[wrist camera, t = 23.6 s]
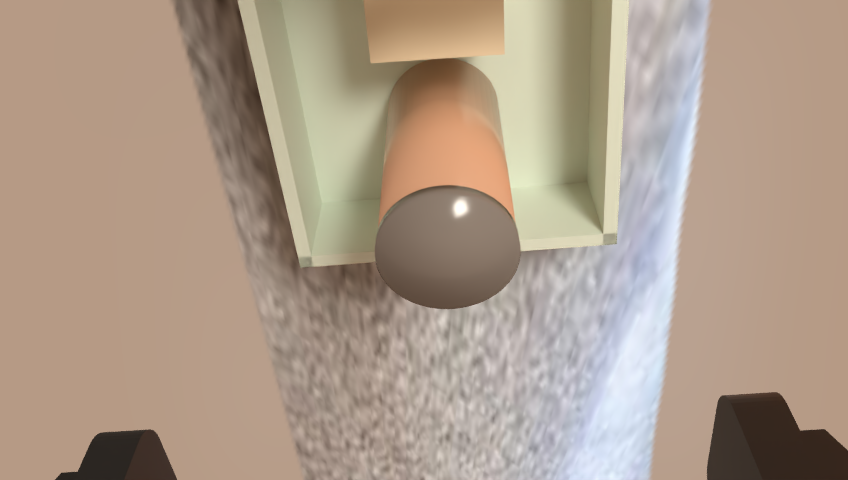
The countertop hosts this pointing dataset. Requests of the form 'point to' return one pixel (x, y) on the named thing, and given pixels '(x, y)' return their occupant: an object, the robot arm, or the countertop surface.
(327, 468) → the countertop surface
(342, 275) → the countertop surface
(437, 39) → the maple block
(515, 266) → the spice jar
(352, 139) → the tote
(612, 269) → the countertop surface
